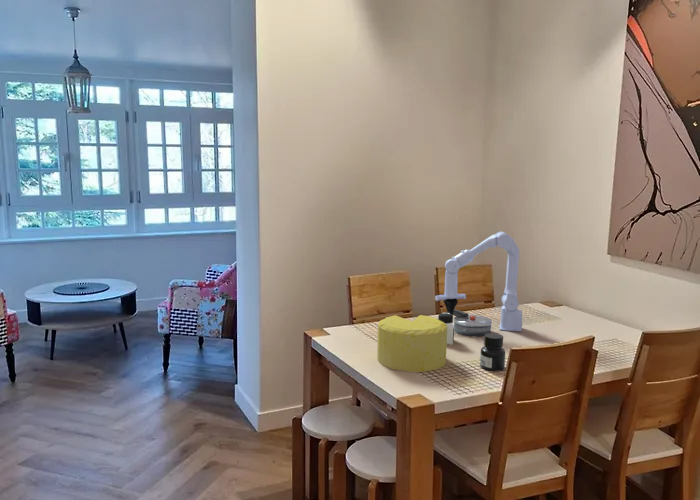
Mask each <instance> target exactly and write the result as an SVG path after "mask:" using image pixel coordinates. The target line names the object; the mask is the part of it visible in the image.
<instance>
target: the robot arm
mask: <svg viewBox="0 0 700 500" xmlns="http://www.w3.org/2000/svg"><path fill="white" fill-rule="evenodd" d="M497 245H498V246H499V247H497ZM489 248H501V249H503V250H504V251H505V252H506V253H507V262H506V273H505V287H504V289H503V290H504V291H503V295H502V296H501V298H500V299H501V303H502V306H501V309H500V324H499V327H498V328H499V330H500V331H508V332H509V331H512V332H522V330H523V328H522V327H523V310H521V309H519V305H520V304H519V300H518V291H517V287H518V275H519V263H520V251H521V250H520V249H519V246H518V245H517V243H516V242H515V239H514V238H513V237H512V236H511V235H510V234H508V233H507V232H504V231H501V230H500V231H498V232H496V233H495V234H491V235H490V236H489V237H487V238H485V239H484V240H483V241H482V242H480V243H478V244H477V245H475V246H474V247H472V248H471V249H465V250H464V249H462V250H460V253H458V254H456V255H455V256H452V257H451V258H450V259H447V260H446V261H445V264H444V268H445V275H444V294H439V295H435V296H434V298H435V299H434V300H435V301H436V302H438V301H439V302H440V301H443V303H444V305H445V308H446V313H450V314H453V311H454V309H456V306H457V304H458V303H459V300H466V299H467V295H466V294H465V293H458V281H459V279H458V278H459V276H458V272H459V269H461V268H463V267H465V266H467V264H470V263H471V262H473V261H474V257H476V256H477V255H478V254H481V253H482V252H485V251H486V250H488V249H489Z"/></svg>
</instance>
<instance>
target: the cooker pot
mask: <svg viewBox="0 0 700 500" xmlns="http://www.w3.org/2000/svg"><path fill="white" fill-rule="evenodd" d="M453 324H454V334H455V333H456V335H461V336H465V337H470V338H471V337H472V338H474V337H475V338H484V335H485V334H488V333H492V332H491V331H492V324H491V325H490V326H487V327H466V326H461V325H458V324H456V323H455V322H454V321H453Z"/></svg>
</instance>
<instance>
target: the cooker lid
mask: <svg viewBox="0 0 700 500" xmlns="http://www.w3.org/2000/svg"><path fill="white" fill-rule="evenodd" d="M452 315H453V323H454V322H455V323H456V324H458V325H461V326H466V327H487V326H490V325H491V326H492V324H493V322H492V321H493V320H492V319H491V318H489V317H488V316H485V315H484V316H483V315H478V314H469V313H468V312H464V311H462V310H459V309H457V308H454V311H453V314H452Z"/></svg>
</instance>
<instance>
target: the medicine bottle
mask: <svg viewBox="0 0 700 500" xmlns="http://www.w3.org/2000/svg"><path fill="white" fill-rule="evenodd" d="M437 319H438V320H440V321H443V322H444V323H445V324H446V325H447V345H453V344H454V340H455V339H454V338H455V336H454V335H455V332H454V315H452V314H450V313H447V312H442V313H441V312H440V313H439V314H438V316H437Z"/></svg>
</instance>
